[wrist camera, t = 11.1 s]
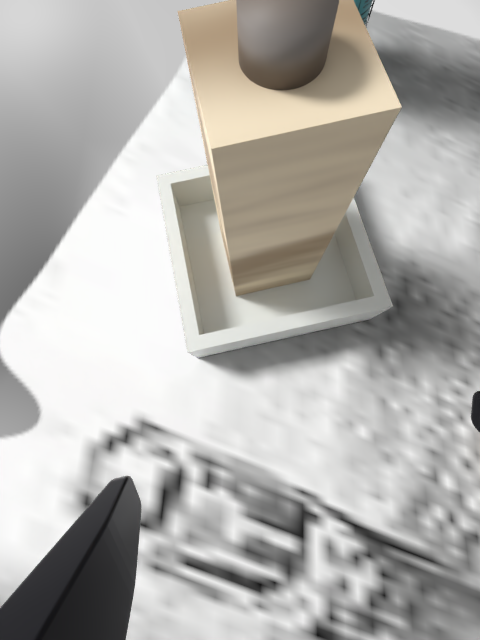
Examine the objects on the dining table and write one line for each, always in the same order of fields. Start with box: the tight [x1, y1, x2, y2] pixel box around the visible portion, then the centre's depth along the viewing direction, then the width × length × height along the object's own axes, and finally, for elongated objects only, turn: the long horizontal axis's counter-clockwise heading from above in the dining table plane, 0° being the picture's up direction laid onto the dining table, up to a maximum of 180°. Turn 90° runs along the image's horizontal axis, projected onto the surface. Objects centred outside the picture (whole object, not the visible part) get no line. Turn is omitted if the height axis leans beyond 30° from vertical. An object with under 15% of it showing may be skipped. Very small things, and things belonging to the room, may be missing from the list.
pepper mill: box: [178, 0, 402, 296], centre depth 13 cm, size 5×5×13 cm
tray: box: [156, 165, 393, 358], centre depth 19 cm, size 12×12×3 cm
